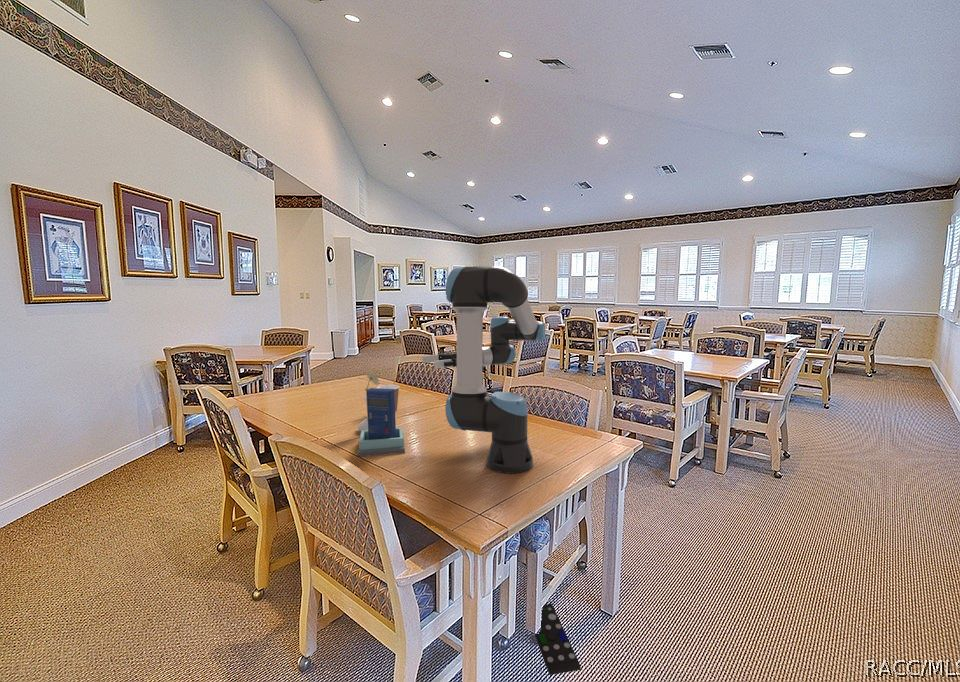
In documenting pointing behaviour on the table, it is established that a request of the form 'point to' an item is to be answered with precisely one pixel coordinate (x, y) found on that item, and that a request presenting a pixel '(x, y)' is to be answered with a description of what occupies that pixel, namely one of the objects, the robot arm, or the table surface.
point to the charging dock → (381, 444)
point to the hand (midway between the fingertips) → (428, 361)
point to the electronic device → (381, 413)
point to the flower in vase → (374, 379)
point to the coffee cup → (396, 390)
